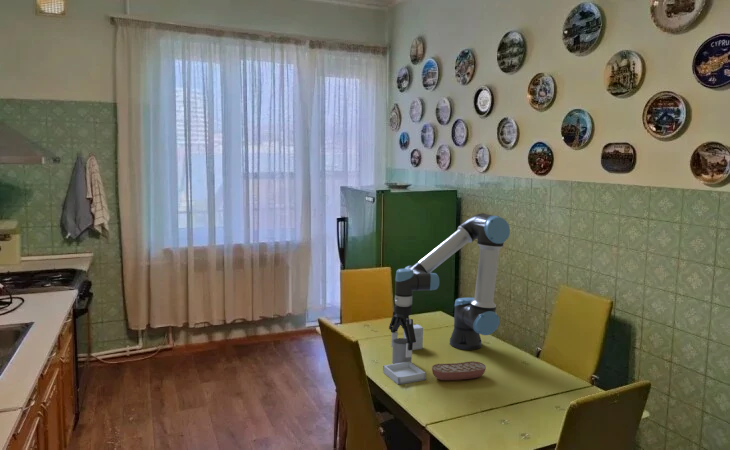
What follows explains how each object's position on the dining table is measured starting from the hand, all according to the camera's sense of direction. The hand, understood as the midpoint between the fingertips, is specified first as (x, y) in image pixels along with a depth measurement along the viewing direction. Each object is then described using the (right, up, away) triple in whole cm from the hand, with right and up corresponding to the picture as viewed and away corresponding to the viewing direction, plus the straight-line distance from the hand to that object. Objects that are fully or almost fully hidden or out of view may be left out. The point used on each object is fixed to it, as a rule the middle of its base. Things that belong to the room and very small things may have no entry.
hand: (401, 351), depth 241 cm
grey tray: (0, -7, -13) cm, 15 cm away
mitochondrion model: (+23, -8, -15) cm, 28 cm away
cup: (0, -5, +1) cm, 6 cm away
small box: (+7, -3, +20) cm, 21 cm away
